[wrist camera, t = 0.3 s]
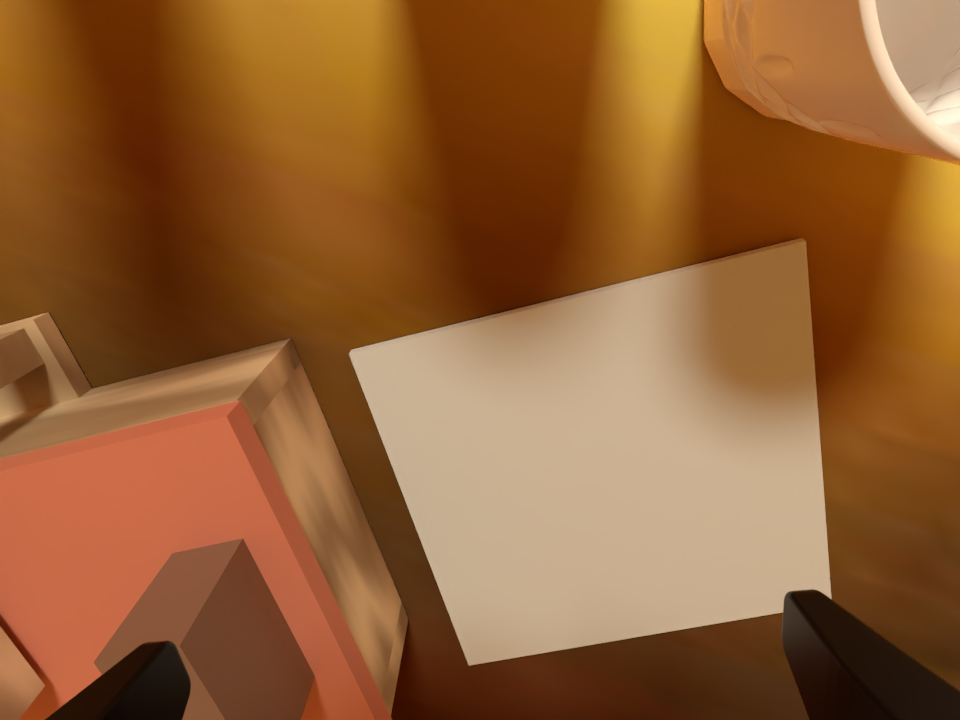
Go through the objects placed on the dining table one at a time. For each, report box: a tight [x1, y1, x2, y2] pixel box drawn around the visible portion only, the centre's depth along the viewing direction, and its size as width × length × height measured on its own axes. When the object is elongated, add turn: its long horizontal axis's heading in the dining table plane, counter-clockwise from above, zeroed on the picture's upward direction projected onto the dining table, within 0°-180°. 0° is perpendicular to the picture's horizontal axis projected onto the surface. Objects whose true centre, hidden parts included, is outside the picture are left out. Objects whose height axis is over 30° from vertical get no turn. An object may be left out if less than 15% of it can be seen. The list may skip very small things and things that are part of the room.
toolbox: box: [0, 312, 409, 716], centre depth 22 cm, size 17×15×9 cm
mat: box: [349, 238, 831, 665], centre depth 24 cm, size 16×16×1 cm
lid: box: [0, 400, 392, 720], centre depth 19 cm, size 14×14×5 cm
